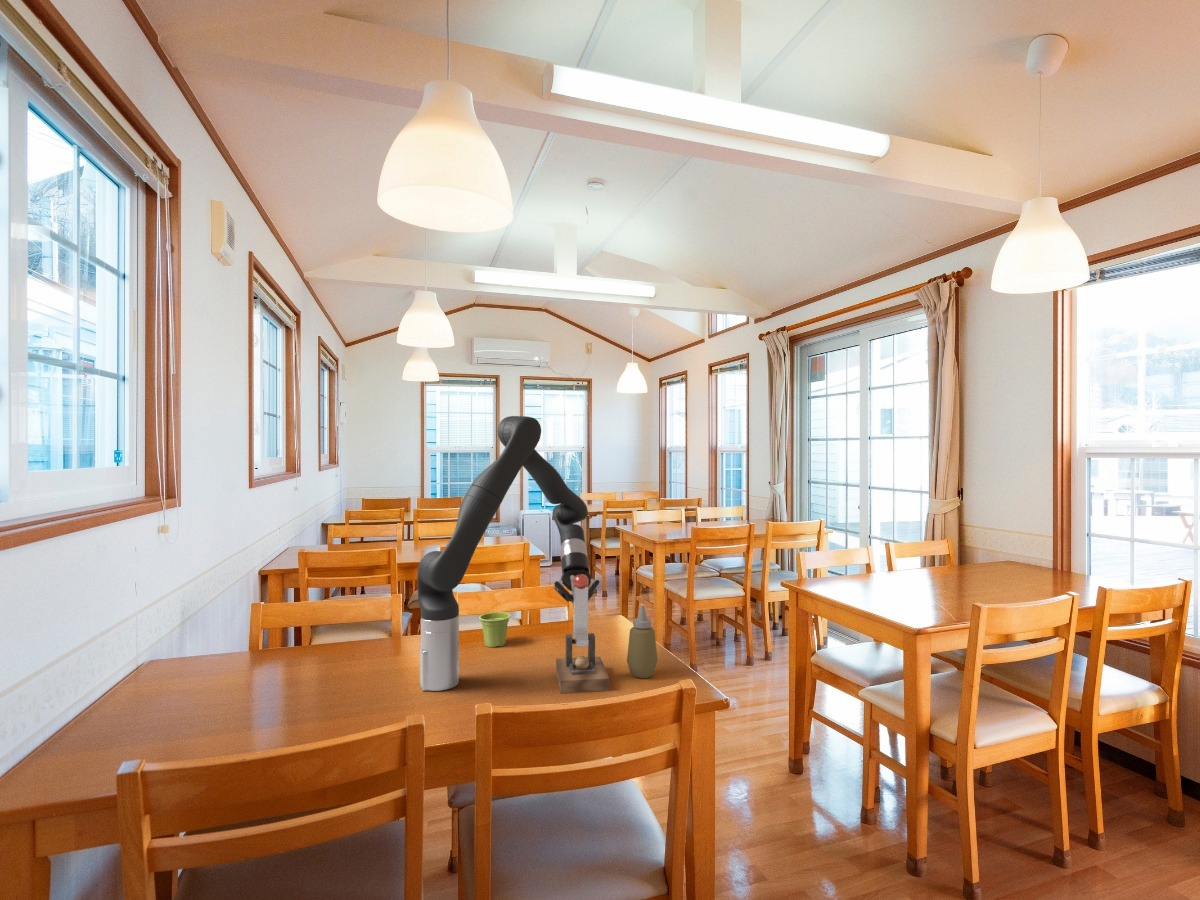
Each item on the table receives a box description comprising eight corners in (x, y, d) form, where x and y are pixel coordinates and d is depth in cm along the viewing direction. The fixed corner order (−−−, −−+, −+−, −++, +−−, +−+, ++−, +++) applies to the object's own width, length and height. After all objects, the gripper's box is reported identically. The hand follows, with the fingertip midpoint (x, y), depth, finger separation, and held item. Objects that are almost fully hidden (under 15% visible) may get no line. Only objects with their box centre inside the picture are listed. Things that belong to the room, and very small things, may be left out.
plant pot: (473, 647, 181) (473, 618, 181) (488, 638, 190) (488, 611, 190) (501, 650, 178) (501, 621, 178) (515, 641, 187) (515, 613, 187)
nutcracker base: (560, 693, 147) (560, 649, 147) (556, 669, 162) (556, 630, 162) (609, 690, 148) (609, 647, 148) (600, 667, 164) (600, 628, 164)
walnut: (578, 673, 152) (578, 659, 152) (573, 668, 155) (573, 655, 155) (591, 671, 153) (591, 657, 153) (585, 666, 156) (585, 653, 156)
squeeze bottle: (658, 680, 155) (658, 610, 155) (627, 680, 155) (627, 610, 155) (656, 669, 163) (656, 602, 163) (626, 669, 163) (626, 602, 163)
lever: (574, 646, 153) (575, 581, 151) (571, 634, 160) (572, 572, 158) (590, 645, 153) (591, 580, 151) (587, 634, 161) (587, 571, 159)
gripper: (551, 551, 168) (555, 607, 156) (598, 550, 170) (605, 605, 158) (550, 566, 173) (553, 622, 161) (595, 565, 175) (602, 619, 163)
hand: (579, 613), depth 159 cm, fingers closed
